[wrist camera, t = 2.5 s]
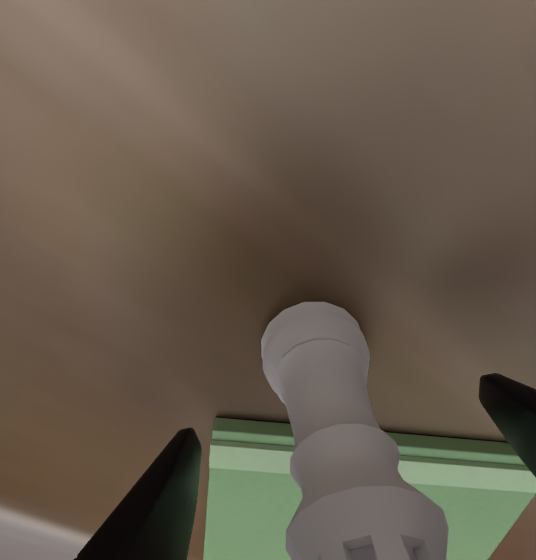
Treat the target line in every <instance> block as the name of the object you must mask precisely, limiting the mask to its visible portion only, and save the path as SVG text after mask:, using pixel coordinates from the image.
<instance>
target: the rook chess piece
mask: <svg viewBox="0 0 536 560" xmlns="http://www.w3.org/2000/svg"><path fill="white" fill-rule="evenodd" d="M261 356H262V359H263V371H264V374H265V376H266V378H267V380H268V382H269V384H270V385H271V387H272V389H273V391H274V392H276V393H277V394H278V396H279V398H280V400H281V401H282V402H283V403H284V404H285V405H286V408H287V412H288V416H289V420H290V424H291V427H292V431H293V435H294V443H295V451H294V452H293V454H292V456H291V457H290V474H291V475H292V477H293V479H294V481H295V482H296V484H297V486H298V487H299V488H300V489H301V492H302V500H301V502H300V504H299V506H298V508H297V510H296V512H295V514H294V516H293V518H292V520H291V522H290V524H289V526H288V528H287V530H286V548H285V550H286V552H287V553H288V555H289V556H290V558H291V559H292V560H446V556H447V544H448V531H449V527H448V524H447V521H446V518H445V514H444V511H443V509H442V508H441V507H439V506H438V505H437V504H436V503H434V502H433V501H432V500H430V499H429V498H428V497H427V496H425V495H424V494H423V493H421V492H420V491H418V490H417V489H416V488H414V487H413V486H411V485H410V484H408V483H407V482H406V481H404V480H403V478H402V477H401V475H400V473H399V472H398V465H399V460H400V453H399V450H398V447H397V444H396V442H395V440H393V439H392V438H391V437H390V436H389V435H387V434H386V433H385V432H384V431H383V430H381V429H380V427H379V425H378V423H377V421H376V418H375V416H374V413H373V409H372V406H371V403H370V399H369V396H368V393H367V389H366V385H367V378H368V369H369V362H370V353H369V349H368V346H367V343H366V340H365V337H364V334H363V333H362V332H361V330H360V327H359V325H358V322H357V321H356V320H355V319H354V318H353V317H352V316H351V315H350V314H349V313H348V312H347V311H346V310H345V309H343V308H341V307H338V306H335V305H332V304H330V303H327V302H302V303H300V304H297V305H295V306H292V307H289V308H287V309H284V310H283V311H282V312H281V313H279V314H278V315H277V316H276V317H275V318H274V319H273V320H272V321H271V322H270V323H269V324H268V326H267V328H266V330H265V332H264V335H263V337H262V339H261Z"/></svg>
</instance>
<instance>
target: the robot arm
mask: <svg viewBox="0 0 536 560" xmlns="http://www.w3.org/2000/svg"><path fill="white" fill-rule="evenodd" d="M479 399H480V402H481V404H482V405H483V407H484V408H485V410H486V411H487V413H488V414H489V415H490V417H491V418H492V420H493V421H494V423H495V424H496V425H497V427H498V428H499V430H500V431H501V433H502V434H503V435H504V437H505V438H506V440H507V441H508V443H509V444H510V445H511V447H512V448H513V450H514V451H515V452H516V454H517V455H518V456H519V458H520V459H521V460H522V462H523V463H524V464H525V465H526V466H527V468H528V469H529V470H530V471H531V473H532V474H533V475H534V476H535V477H536V389H534V388H531V387H529V386H526V385H524V384H522V383H519V382H517V381H514V380H512V379H510V378H507V377H505V376H503V375H500V374H497V373H493V374H487V375H483V376H481V378H480V385H479ZM201 454H202V449H201V444H200V442H199V440H198V437H197V435H196V433H195V431H194V429H193V428H186V429H181V430H179V431H178V432H177V434H176V435H175V436H174V437H173V438H172V440H171V441H170V442H169V443H168V445H167V446H166V447H165V448H164V449H163V451H162V452H161V453H160V454H159V456H158V457H157V458H156V459H155V461H154V462H153V463H152V464H151V465H150V467H149V468H148V469H147V470H146V472H145V473H144V474H143V475H142V476H141V478H140V479H139V480H138V481H137V483H136V484H135V485H134V486H133V487H132V489H131V490H130V491H129V492H128V494H127V495H126V496H125V497H124V499H123V500H122V501H121V502H120V503H119V505H118V506H117V507H116V508H115V510H114V511H113V512H112V513H111V514H110V516H109V517H108V518H107V519H106V521H105V522H104V523H103V524H102V525H101V527H100V528H99V529H98V530H97V532H96V533H95V534H94V535H93V537H92V538H91V539H90V540H89V541H88V543H87V544H86V545H85V546H84V548H83V549H82V550H81V551H80V552H79V554H78V555H77V558H75V559H74V560H187V555H188V549H189V544H190V539H191V533H192V528H193V523H194V517H195V511H196V504H197V495H198V485H199V474H200V464H201Z"/></svg>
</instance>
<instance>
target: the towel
mask: <svg viewBox="0 0 536 560" xmlns="http://www.w3.org/2000/svg"><path fill="white" fill-rule="evenodd" d="M385 433H386V434H387V435H389V436H390V437H391V438H392V439H393V440H395V442H396V444H397V447H398V450H399V453H400V460H399V465H398V472H399V473H400V475H401V477H402V478H403V480H404V481H406V482H407V483H408V484H410V485H411V486H413V487H414V488H416V489H417V490H418V491H420V492H421V493H423V494H424V495H425V496H427V497H428V498H429V499H430V500H432V501H433V502H434V503H436V504H437V505H438V506H439V507H441V508H442V509H443V511H444V514H445V518H446V521H447V524H448V527H449V531H448V544H447V556H446V560H488V558H489V557H490V555H491V554H492V553H493V551H494V550H495V549H496V547H497V546H498V545H499V543H500V542H501V540H502V539H503V538H504V536H505V535H506V534H507V532H508V531H509V529H510V528H511V527H512V525H513V524H514V523H515V521H516V520H517V519H518V517H519V516H520V514H521V513H522V512H523V510H524V509H525V508H526V506H527V505H528V504H529V502H530V501H531V499H532V498H533V497H534V495H535V494H536V477H535V476H534V475H533V474H532V473H531V471H530V470H529V469H528V468H527V466H526V465H525V464H524V463H523V462H522V460H521V459H520V458H519V456H518V455H517V454H516V452H515V451H514V450H513V448H512V447H511V445H510V444H509V443H504V442H492V441H481V440H469V439H458V438H446V437H435V436H423V435H412V434H400V433H389V432H385ZM294 451H295V443H294V435H293V431H292V427H291V424H286V423H274V422H263V421H251V420H240V419H228V418H215V420H214V425H213V429H212V440H211V444H210V458H209V468H210V470H209V484H208V498H207V512H206V527H205V541H204V555H203V560H292V559H291V558H290V556H289V555H288V553H287V552H286V550H285V548H286V530H287V528H288V526H289V524H290V522H291V520H292V518H293V516H294V514H295V512H296V510H297V508H298V506H299V504H300V502H301V500H302V492H301V489H300V488H299V487H298V486H297V484H296V482H295V481H294V479H293V477H292V475H291V474H290V457H291V456H292V454H293V452H294Z"/></svg>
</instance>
